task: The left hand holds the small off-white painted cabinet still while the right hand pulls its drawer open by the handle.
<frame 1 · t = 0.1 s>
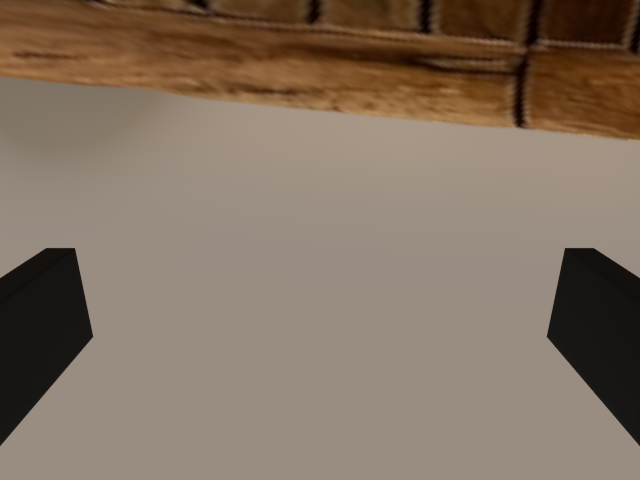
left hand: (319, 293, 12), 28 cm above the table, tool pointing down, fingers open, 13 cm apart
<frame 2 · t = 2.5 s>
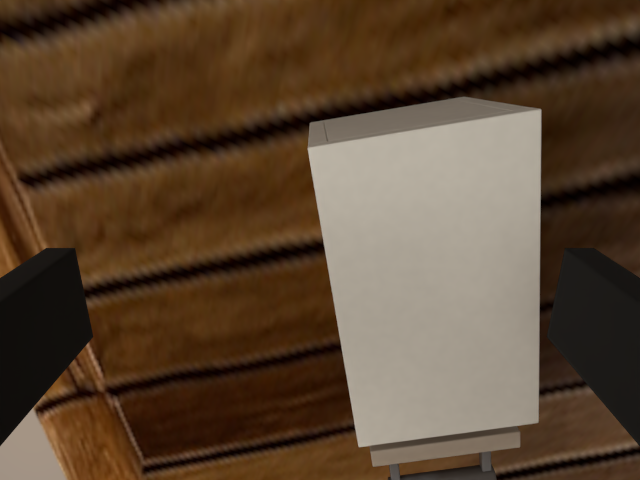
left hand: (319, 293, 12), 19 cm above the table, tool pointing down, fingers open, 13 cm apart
cabinet: (399, 232, 31), on the table
drawer: (423, 343, 29), point 5 cm above the table, slide at 1.4 cm
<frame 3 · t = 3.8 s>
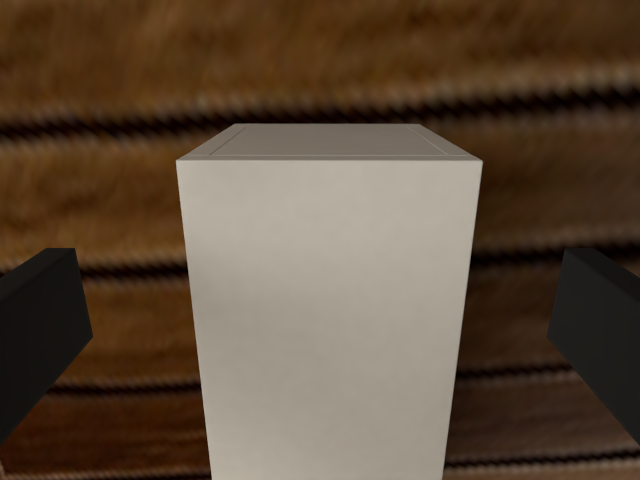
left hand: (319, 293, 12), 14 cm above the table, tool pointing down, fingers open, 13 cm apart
cabinet: (326, 266, 27), on the table
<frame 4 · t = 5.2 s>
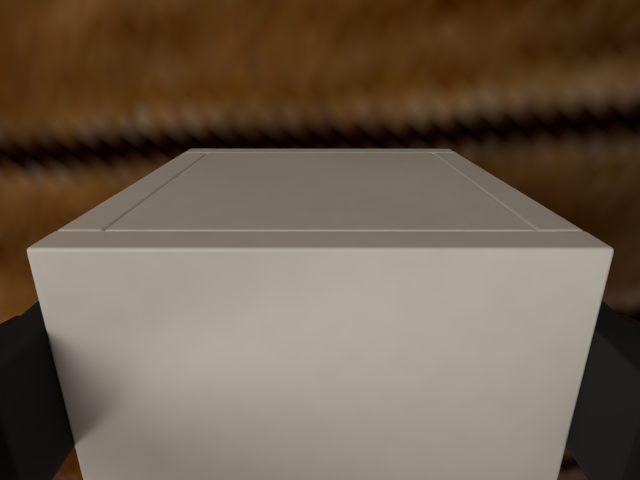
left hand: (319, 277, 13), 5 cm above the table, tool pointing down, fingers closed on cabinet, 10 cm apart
cabinet: (320, 337, 20), on the table, touching left hand
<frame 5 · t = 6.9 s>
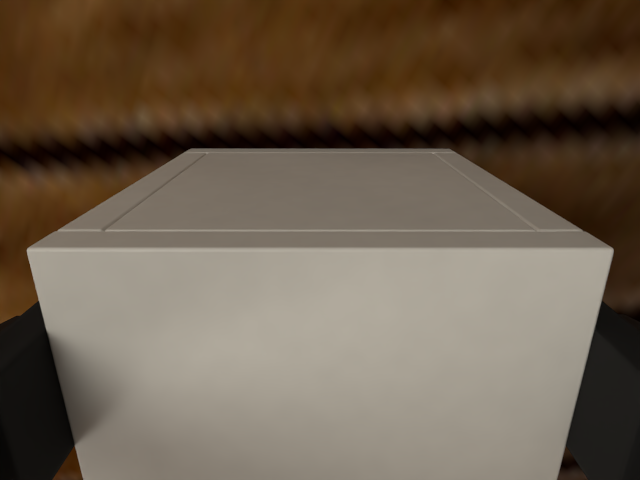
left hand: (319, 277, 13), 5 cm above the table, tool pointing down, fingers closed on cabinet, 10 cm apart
cabinet: (320, 337, 20), on the table, touching left hand
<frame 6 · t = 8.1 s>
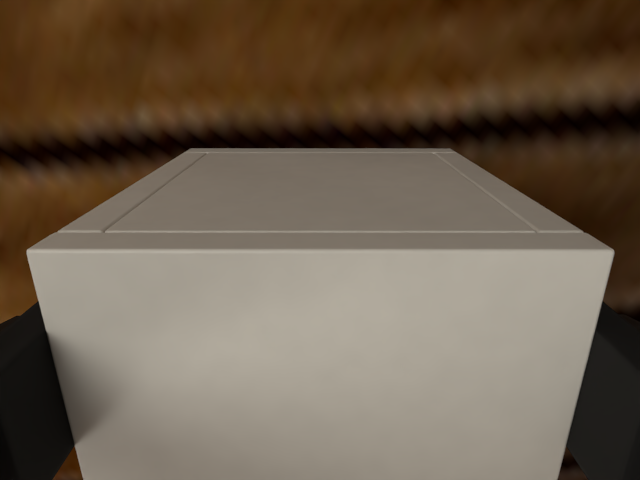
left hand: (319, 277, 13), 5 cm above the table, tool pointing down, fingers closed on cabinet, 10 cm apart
cabinet: (320, 337, 20), on the table, touching left hand
when the left hand's fingers open (5 cm above the table, at t = 10.0 s): cabinet stays where it is, on the table.
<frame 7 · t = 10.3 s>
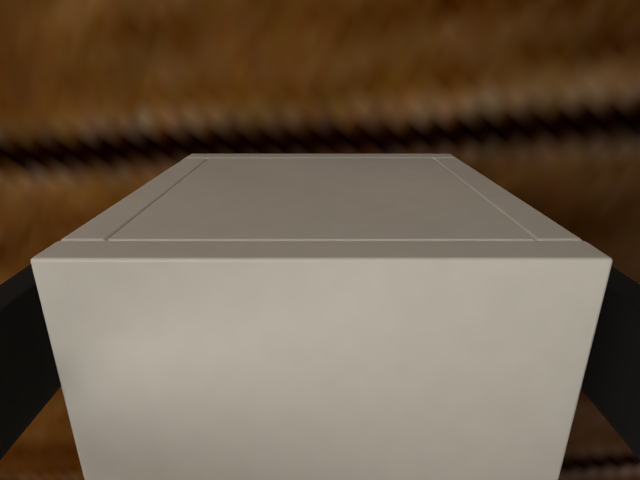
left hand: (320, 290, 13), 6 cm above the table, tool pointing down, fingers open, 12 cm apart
cabinet: (320, 341, 20), on the table
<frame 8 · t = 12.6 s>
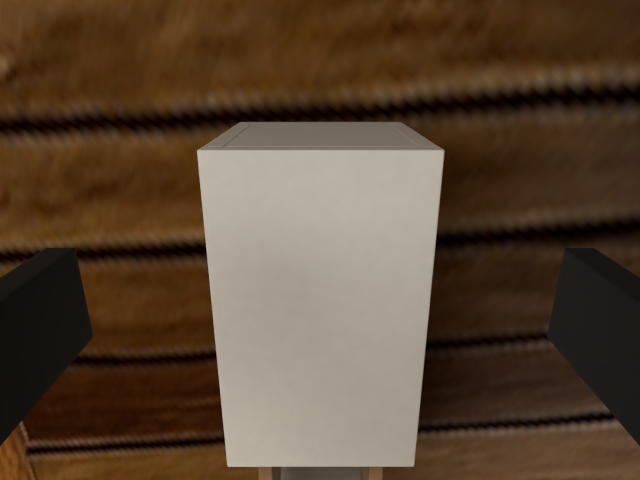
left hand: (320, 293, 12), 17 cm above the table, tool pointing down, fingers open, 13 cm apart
cabinet: (320, 249, 31), on the table
drawer: (320, 450, 30), point 5 cm above the table, slide at 8.1 cm
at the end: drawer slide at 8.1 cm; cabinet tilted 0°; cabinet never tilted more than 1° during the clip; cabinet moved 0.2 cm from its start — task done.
